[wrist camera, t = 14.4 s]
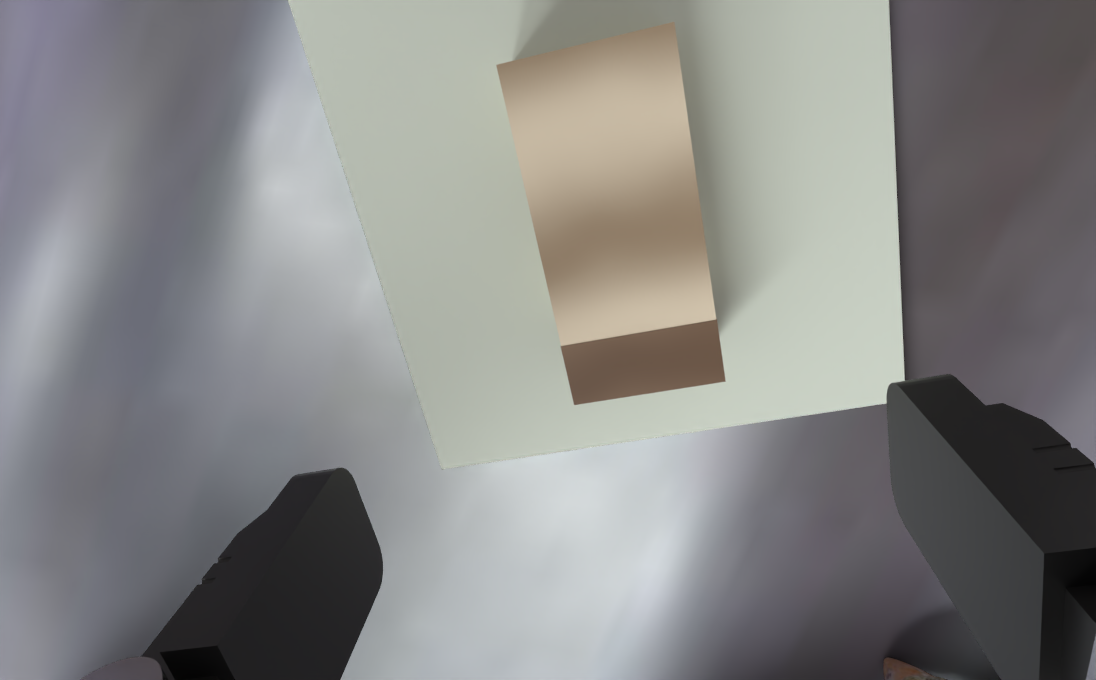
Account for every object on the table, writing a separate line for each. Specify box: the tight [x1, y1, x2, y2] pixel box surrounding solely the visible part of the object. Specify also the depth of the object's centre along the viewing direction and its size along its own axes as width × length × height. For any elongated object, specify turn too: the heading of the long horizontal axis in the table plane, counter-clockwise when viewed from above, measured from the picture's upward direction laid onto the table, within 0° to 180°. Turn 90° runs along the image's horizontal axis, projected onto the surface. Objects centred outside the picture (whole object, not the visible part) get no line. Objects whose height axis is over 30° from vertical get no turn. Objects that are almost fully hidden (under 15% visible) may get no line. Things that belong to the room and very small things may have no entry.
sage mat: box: [288, 0, 905, 470], centre depth 27 cm, size 20×20×1 cm
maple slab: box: [496, 22, 726, 405], centre depth 25 cm, size 12×6×4 cm, turn 12°
